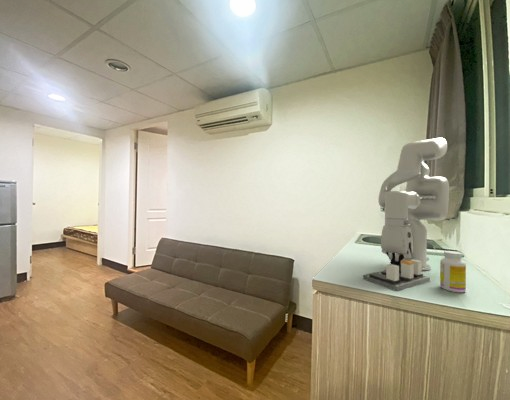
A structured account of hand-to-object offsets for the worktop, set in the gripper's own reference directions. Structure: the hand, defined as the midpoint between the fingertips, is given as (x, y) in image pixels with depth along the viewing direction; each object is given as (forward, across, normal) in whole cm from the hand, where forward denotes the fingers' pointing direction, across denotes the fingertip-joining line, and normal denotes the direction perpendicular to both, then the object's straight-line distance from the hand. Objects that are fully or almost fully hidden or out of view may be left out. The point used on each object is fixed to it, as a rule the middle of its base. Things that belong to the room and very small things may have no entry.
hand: (395, 270), depth 86 cm
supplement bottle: (+4, -14, -9) cm, 17 cm away
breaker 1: (+1, -4, +8) cm, 8 cm away
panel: (+4, 0, 0) cm, 4 cm away
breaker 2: (+1, -3, -8) cm, 8 cm away
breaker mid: (+1, -4, 0) cm, 4 cm away
